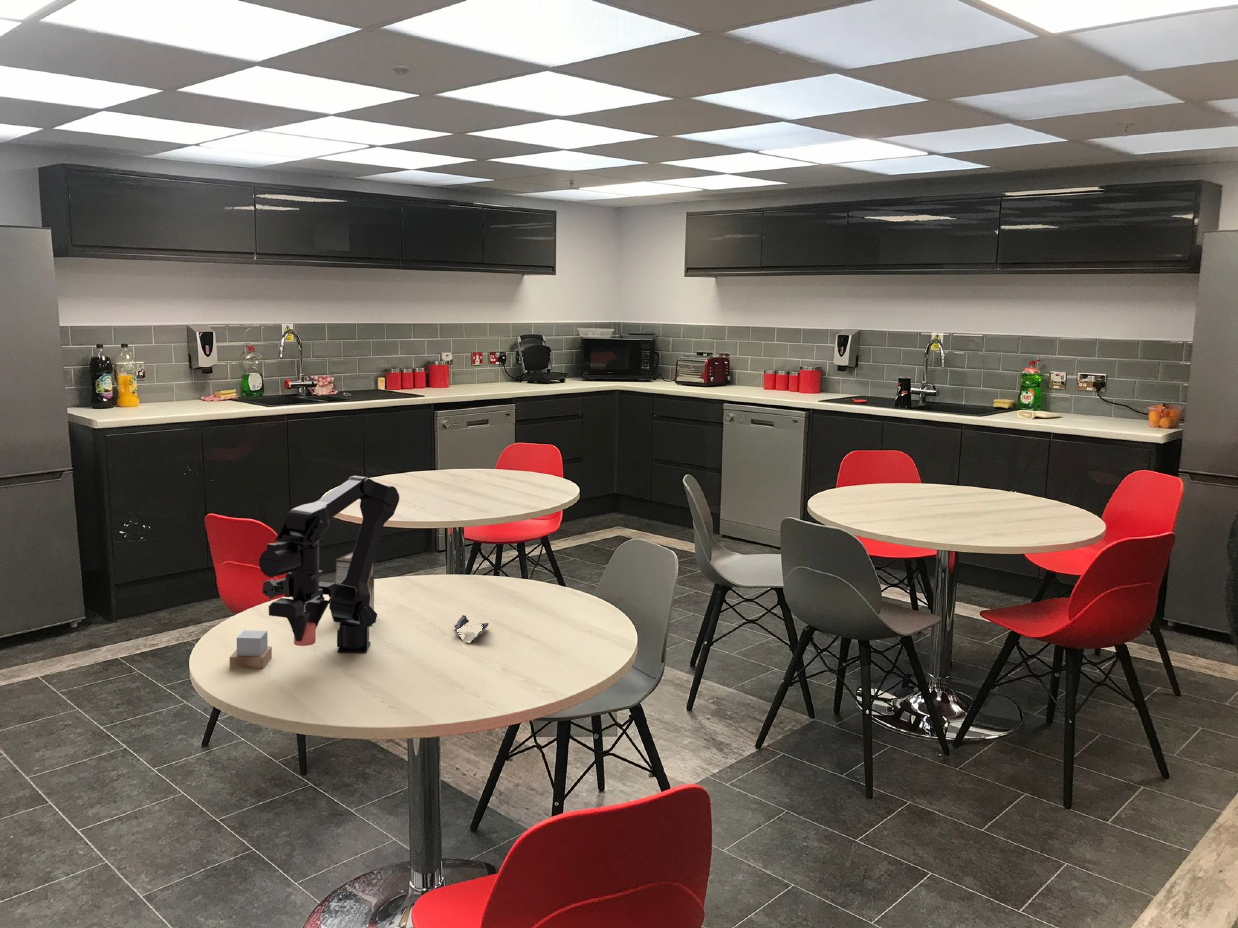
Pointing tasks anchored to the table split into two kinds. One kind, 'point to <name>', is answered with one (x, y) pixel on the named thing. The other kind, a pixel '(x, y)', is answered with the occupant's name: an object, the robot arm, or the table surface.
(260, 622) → the table surface
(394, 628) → the table surface
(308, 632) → the red cylinder
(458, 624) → the snack package
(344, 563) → the coffee box
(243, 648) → the grey block
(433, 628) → the table surface
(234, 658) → the walnut slab
